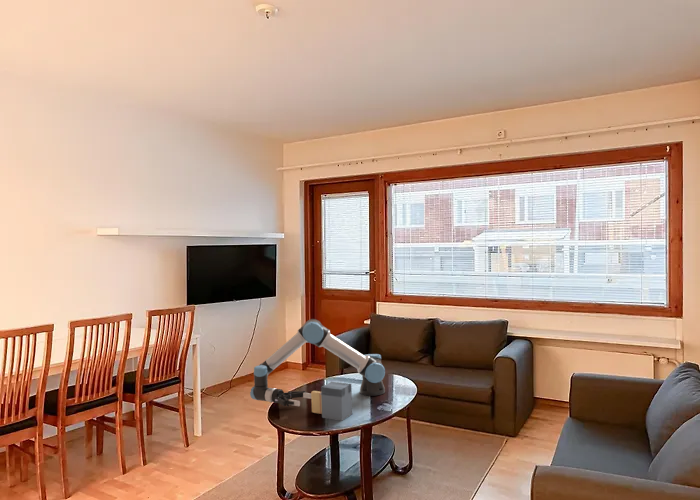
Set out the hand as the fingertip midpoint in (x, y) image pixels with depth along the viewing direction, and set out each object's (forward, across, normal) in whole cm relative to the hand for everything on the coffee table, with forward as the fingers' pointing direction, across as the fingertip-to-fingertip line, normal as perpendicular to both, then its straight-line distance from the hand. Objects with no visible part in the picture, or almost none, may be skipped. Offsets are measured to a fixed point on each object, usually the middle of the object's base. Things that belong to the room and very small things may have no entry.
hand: (306, 399), depth 271 cm
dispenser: (+19, 0, -6) cm, 20 cm away
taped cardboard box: (+11, 0, -6) cm, 13 cm away
